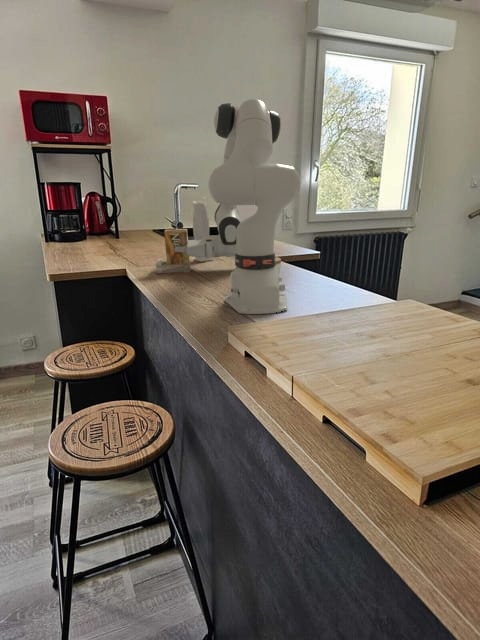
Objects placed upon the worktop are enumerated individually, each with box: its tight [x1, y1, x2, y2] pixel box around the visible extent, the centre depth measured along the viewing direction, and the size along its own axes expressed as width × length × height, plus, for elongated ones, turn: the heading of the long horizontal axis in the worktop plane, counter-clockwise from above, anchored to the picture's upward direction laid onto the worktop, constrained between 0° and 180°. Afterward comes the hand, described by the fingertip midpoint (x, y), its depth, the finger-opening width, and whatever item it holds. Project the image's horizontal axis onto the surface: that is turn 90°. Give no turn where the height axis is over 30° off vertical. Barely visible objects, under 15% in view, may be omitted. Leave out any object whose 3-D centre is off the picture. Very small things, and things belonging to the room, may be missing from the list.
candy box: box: [163, 228, 191, 265], centre depth 169 cm, size 9×4×15 cm, turn 92°
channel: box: [155, 258, 191, 276], centre depth 171 cm, size 10×13×4 cm
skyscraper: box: [191, 196, 215, 263], centre depth 189 cm, size 8×8×28 cm
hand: (174, 248), depth 169 cm, fingers closed on candy box, 4 cm apart
